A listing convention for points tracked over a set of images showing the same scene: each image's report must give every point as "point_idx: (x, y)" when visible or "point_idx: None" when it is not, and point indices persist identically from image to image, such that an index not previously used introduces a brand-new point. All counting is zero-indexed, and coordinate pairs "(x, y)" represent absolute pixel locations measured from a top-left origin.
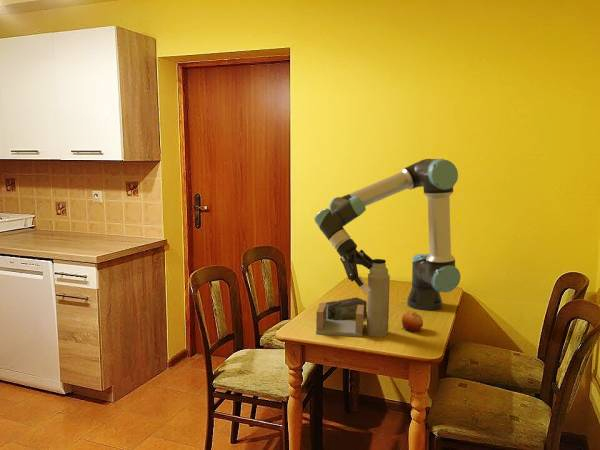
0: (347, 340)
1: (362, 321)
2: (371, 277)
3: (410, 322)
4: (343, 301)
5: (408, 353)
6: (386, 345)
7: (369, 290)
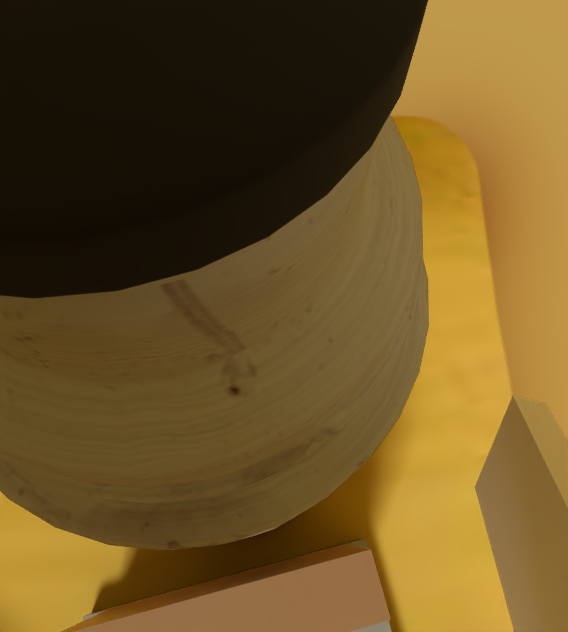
0: (479, 618)
1: (326, 555)
2: (404, 396)
3: None
4: None
5: (479, 227)
6: (430, 351)
7: (544, 414)
